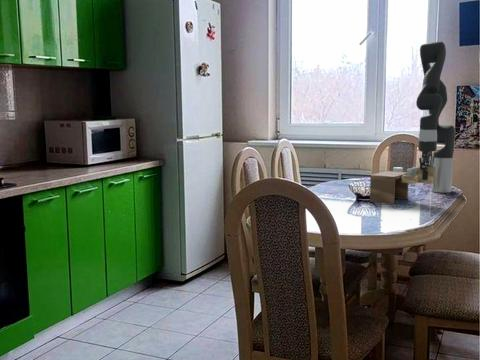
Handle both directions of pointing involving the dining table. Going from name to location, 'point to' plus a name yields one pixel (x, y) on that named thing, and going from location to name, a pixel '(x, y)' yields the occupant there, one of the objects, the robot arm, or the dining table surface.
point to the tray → (418, 176)
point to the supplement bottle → (397, 169)
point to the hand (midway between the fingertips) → (426, 179)
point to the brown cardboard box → (387, 187)
